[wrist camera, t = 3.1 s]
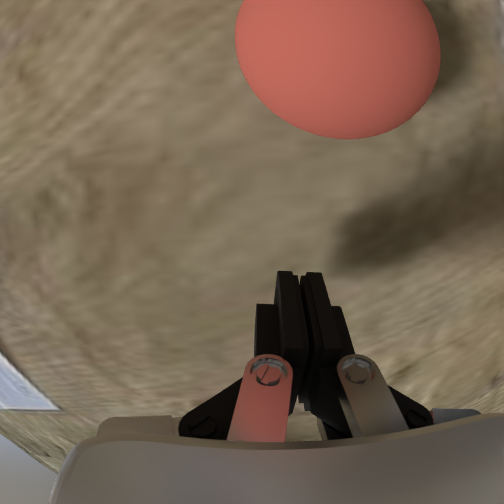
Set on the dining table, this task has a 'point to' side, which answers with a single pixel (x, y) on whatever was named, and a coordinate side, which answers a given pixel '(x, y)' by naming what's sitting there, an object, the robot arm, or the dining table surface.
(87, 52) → the dining table surface
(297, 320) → the robot arm
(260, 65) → the ball
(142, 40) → the dining table surface
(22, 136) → the dining table surface
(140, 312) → the dining table surface
